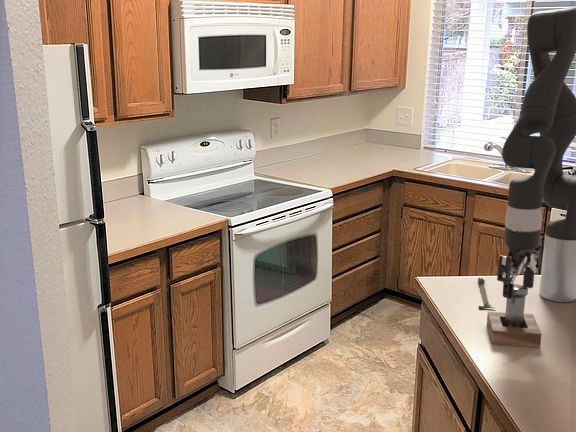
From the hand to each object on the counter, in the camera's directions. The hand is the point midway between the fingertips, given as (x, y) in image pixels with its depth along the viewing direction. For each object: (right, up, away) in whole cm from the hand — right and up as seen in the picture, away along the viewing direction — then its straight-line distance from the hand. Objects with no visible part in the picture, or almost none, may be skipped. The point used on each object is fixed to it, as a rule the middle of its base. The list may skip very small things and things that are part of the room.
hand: (517, 292), depth 141 cm
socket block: (0, -11, +3) cm, 11 cm away
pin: (0, -11, +3) cm, 11 cm away
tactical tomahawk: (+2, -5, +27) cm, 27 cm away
